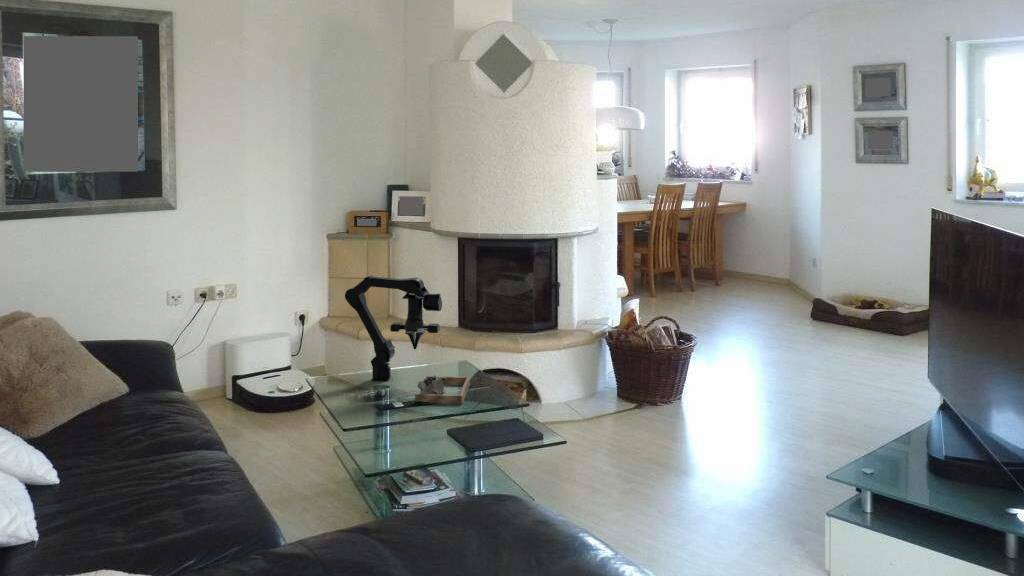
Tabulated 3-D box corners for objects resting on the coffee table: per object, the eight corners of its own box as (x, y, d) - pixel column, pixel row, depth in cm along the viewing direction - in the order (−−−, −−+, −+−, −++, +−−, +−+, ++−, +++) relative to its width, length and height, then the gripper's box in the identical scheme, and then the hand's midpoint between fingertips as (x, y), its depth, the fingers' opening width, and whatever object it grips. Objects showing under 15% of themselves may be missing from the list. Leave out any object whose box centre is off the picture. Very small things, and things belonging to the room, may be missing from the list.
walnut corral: (414, 402, 337) (414, 394, 336) (426, 383, 365) (426, 375, 364) (462, 404, 336) (462, 396, 335) (470, 384, 364) (470, 377, 363)
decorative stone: (418, 408, 339) (442, 404, 336) (410, 385, 338) (435, 381, 334) (433, 391, 354) (457, 387, 351) (426, 369, 352) (450, 365, 349)
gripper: (386, 312, 357) (387, 352, 359) (434, 314, 355) (434, 354, 357) (393, 308, 368) (393, 346, 370) (440, 309, 366) (439, 348, 368)
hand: (415, 349), depth 366 cm, fingers closed
